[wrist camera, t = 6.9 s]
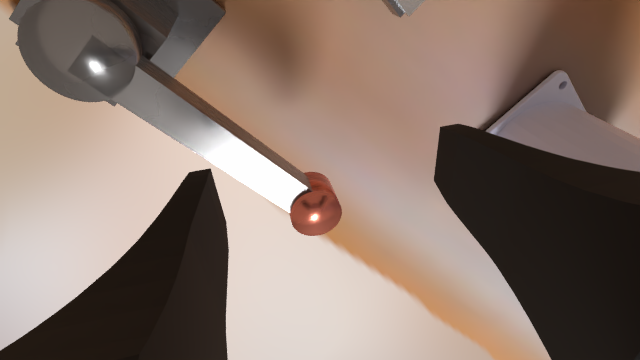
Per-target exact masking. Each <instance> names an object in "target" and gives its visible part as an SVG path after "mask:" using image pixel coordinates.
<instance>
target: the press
mask: <svg viewBox="0 0 640 360" xmlns="http://www.w3.org/2000/svg"><path fill="white" fill-rule="evenodd" d="M39 1H41V0H20V1H19V3H18V5H17V6H16V8H15V10H14V11H13V13H12V15H11V16H10V18H9V19H10V20H11V21H13V22H14V23H16V24H17V25H19V23H20V21H21V19H22V17H23V15H24V14H25V12H26V11H27V10H28V9H29V8H30V7H31V6H32V5H34V4H35V3H37V2H39ZM109 1H111V2H112V3H114V4H115V5H116V6H118V7H119V8H120V9H121V10H122V11H123V12H124V13H125V14H126V15H127V16H128V17H129V18H130V20H131V21H132V22H133V24H134V25H135V27H136V29H137V31H138V33H139V36H140V39H141V42H142V50H143V56H144V57H146V58H147V59H148V60H150V61H151V62H153V63H154V64H155V65H157V66H158V67H159V68H161V69H162V70H163V71H165V72H166V73H168V74H169V75H170V76H172V77H173V78H174V77H175V75H176V74H177V73H178V72H179V70H180V69H181V68H182V67H183V65H184V64H185V63H186V62H187V60H188V59H189V58H190V57H191V56H192V54H193V53H194V52H195V51H196V49H197V48H198V47H199V46H200V44H201V43H202V42H203V41H204V39H205V38H206V37H207V36H208V34H209V33H210V32H211V31H212V29H213V28H214V27H215V26H216V24H217V23H218V22H219V21H220V19H221V18H222V17H223V16H224V14H225V13H226V10H224V9H223V8H222V7H221V6H220V5H219V4H218V3H217V2H216V1H215V0H109ZM382 1H383V2H384V3H385V5H386V6H387V7H388V8H389V10H390V11H391V12H392V14H394V15H396V16H398V17H401V16H402V15H403V14H404V13H406V14H407V16H410V15H411V14H412V13H413V12H414V11H415V10H416V9H417V8H418V7H419V6H420V5H421V4H422V3H423V2H424V1H425V0H382ZM16 45H18V41H17V42H16ZM18 46H19V45H18ZM105 101H107V102H108V103H110V104H111V105H113V106H115V105H116V104H117V103H116V102H115V101H113V100H112V99H109V100H105Z"/></svg>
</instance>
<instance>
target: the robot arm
mask: <svg viewBox="0 0 640 360" xmlns="http://www.w3.org/2000/svg"><path fill="white" fill-rule="evenodd" d="M561 82H562V84H561ZM560 84H561V85H560ZM559 85H560V86H559ZM434 181H435V183H436V185H437V187H438V188H439V190H440V192H441V194H442V195H443V197H444V199H445V200H446V202H447V204H448V205H449V206H450V208H451V209H452V210H453V211H454V213H455V214H456V215H457V217H458V218H459V219H460V220H461V222H462V223H463V224H464V225H465V226H466V228H467V229H468V230H469V231H470V233H471V234H472V235H473V236H474V238H475V239H476V240H477V241H478V242H479V244H480V245H481V246H482V247H483V249H484V250H485V251H486V252H487V254H488V255H489V256H490V258H491V259H492V260H493V262H494V263H495V264H496V266H497V267H498V269H499V270H500V272H501V273H502V275H503V277H504V278H505V280H506V281H507V283H508V284H509V286H510V287H511V289H512V291H513V292H514V294H515V296H516V297H517V299H518V301H519V302H520V304H521V306H522V307H523V309H524V311H525V312H526V314H527V316H528V317H529V319H530V321H531V323H532V324H533V326H534V328H535V330H536V332H537V334H538V335H539V337H540V339H541V341H542V343H543V345H544V346H545V348H546V350H547V352H548V354H549V356H550V358H551V360H640V139H639V138H637V137H635V136H633V135H631V134H629V133H627V132H625V131H623V130H621V129H619V128H617V127H615V126H613V125H611V124H609V123H607V122H605V121H603V120H601V119H599V118H597V117H595V116H593V115H591V114H589V113H587V112H586V110H585V108H584V106H583V104H582V102H581V100H580V98H579V97H578V95H577V93H576V91H575V89H574V87H573V85H572V83H571V81H570V79H569V77H568V75H567V73H566V72H564V71H562V70H557V71H555V72H553V73H552V74H551V75H550V76H549V77H547V78H546V79H545V80H544V81H543V82H542V83H540V84H539V85H538V86H537V87H536V88H535V89H534V90H532V91H531V92H530V93H529V94H528V95H527V96H525V97H524V98H523V99H522V100H521V101H520V102H518V103H517V104H516V105H515V106H514V107H513V108H511V109H510V110H509V111H508V112H507V113H506V114H505V115H503V116H502V117H501V118H500V119H499V120H498V121H496V122H495V123H494V124H493V125H492V126H491V127H489V128H488V129H487V130H486V131H483V130H479V129H476V128H473V127H469V126H466V125H461V124H455V125H449V126H443V127H440V134H439V142H438V150H437V158H436V167H435V175H434ZM228 252H229V249H228V238H227V228H226V220H225V217H224V213H223V210H222V206H221V203H220V200H219V196H218V193H217V189H216V186H215V183H214V179H213V176H212V172H211V169H205V170H199V171H194V172H189V173H188V175H187V176H186V178H185V179H184V180H183V182H182V183H181V185H180V186H179V188H178V189H177V190H176V192H175V193H174V195H173V196H172V198H171V199H170V201H169V202H168V203H167V205H166V206H165V207H164V209H163V210H162V212H161V213H160V214H159V215H158V217H157V218H156V219H155V221H154V222H153V223H152V224H151V225H150V227H149V228H148V229H147V230H146V231H145V233H144V234H143V235H142V236H141V238H140V239H139V240H138V241H137V242H136V243H135V244H134V245H133V246H132V247H131V248H130V249H129V250H128V251H127V252H126V253H125V254H124V255H123V256H122V257H121V258H120V259H119V260H118V261H117V262H116V263H115V264H114V265H113V266H112V267H111V268H110V269H109V270H108V271H106V272H105V273H104V274H103V275H102V276H101V277H99V278H98V279H97V280H96V281H95V282H94V283H93V284H91V285H90V286H89V287H88V288H87V289H85V290H84V291H83V292H82V293H81V294H80V295H78V296H77V297H76V298H75V299H74V300H72V301H71V302H69V303H68V304H67V305H66V306H64V307H63V308H62V309H60V310H59V311H58V312H56V313H55V314H54V315H52V316H51V317H49V318H48V319H47V320H45V321H44V322H42V323H41V324H40V325H38V326H37V327H36V328H34V329H33V330H31V331H30V332H28V333H27V334H25V335H24V336H23V337H21V338H19V339H18V340H16V341H15V342H13V343H12V344H10V345H8V346H7V347H5V348H4V349H2V350H1V351H0V360H227V343H226V299H227V278H228V276H227V275H228Z"/></svg>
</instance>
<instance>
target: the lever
mask: <svg viewBox="0 0 640 360" xmlns="http://www.w3.org/2000/svg"><path fill="white" fill-rule="evenodd" d="M18 45H19V49H20V52H21V55H22V57H23V59H24V61H25V63H26V65H27V66H28V68H29V69H30V70H31V72H32V73H33V74H34V75H35V76H36V77H37V78H38V79H39V80H40V81H41V82H42V83H43V84H45V85H46V86H47V87H48V88H50V89H52V90H53V91H55V92H57V93H58V94H60V95H63V96H65V97H68V98H71V99H74V100H78V101H84V102H100V101H105V100H109V99H112V100H113V101H115V102H116V103H118V104H120V105H121V106H123V107H124V108H126V109H127V110H129V111H131V112H132V113H134V114H135V115H137V116H138V117H140V118H142V119H143V120H145V121H146V122H148V123H149V124H151V125H152V126H154V127H156V128H157V129H159V130H160V131H162V132H164V133H165V134H167V135H168V136H170V137H171V138H173V139H174V140H176V141H178V142H179V143H181V144H182V145H184V146H185V147H187V148H189V149H190V150H192V151H193V152H195V153H196V154H198V155H200V156H201V157H203V158H204V159H206V160H207V161H209V162H211V163H212V164H214V165H215V166H217V167H218V168H220V169H222V170H223V171H225V172H226V173H228V174H230V175H231V176H233V177H234V178H236V179H237V180H239V181H240V182H242V183H244V184H245V185H247V186H248V187H250V188H251V189H253V190H255V191H256V192H258V193H259V194H261V195H262V196H264V197H266V198H267V199H269V200H270V201H272V202H273V203H275V204H277V205H278V206H280V207H281V208H283V209H284V210H286V211H288V212H289V213H290V217H291V222H292V225H293V227H294V228H295V229H296V230H297V231H298V232H300V233H301V234H304V235H309V236H316V235H321V234H324V233H326V232H328V231H330V230H332V229H333V228H334V227H335V226H336V225H337V224H338V222H339V221H340V218H341V214H342V210H341V206H340V204H339V201H338V199H337V197H336V194H335V192H334V190H333V188H332V185H331V183H330V181H329V180H328V178H327V177H326V176H324V175H322V174H320V173H316V172H307V173H303V172H301V171H300V170H298V169H297V168H296V167H294V166H293V165H292V164H290V163H289V162H288V161H286V160H285V159H283V158H282V157H281V156H279V155H278V154H277V153H275V152H274V151H273V150H271V149H270V148H268V147H267V146H266V145H264V144H263V143H262V142H260V141H259V140H258V139H256V138H255V137H253V136H252V135H251V134H249V133H248V132H247V131H245V130H244V129H243V128H241V127H240V126H238V125H237V124H236V123H234V122H233V121H232V120H230V119H229V118H228V117H226V116H225V115H223V114H222V113H221V112H219V111H218V110H217V109H215V108H214V107H213V106H211V105H210V104H208V103H207V102H206V101H204V100H203V99H202V98H200V97H199V96H198V95H196V94H195V93H193V92H192V91H191V90H189V89H188V88H187V87H185V86H184V85H183V84H181V83H180V82H178V81H177V80H176V79H174V78H173V77H172V76H170V75H169V74H168V73H166V72H165V71H163V70H162V69H161V68H159V67H158V66H157V65H155V64H154V63H153V62H151V61H150V60H148V59H147V58H146V57H144V56H143V50H142V42H141V39H140V36H139V33H138V31H137V29H136V27H135V25H134V24H133V22H132V21H131V20H130V18H129V17H128V16H127V15H126V14H125V13H124V12H123V11H122V10H121V9H120V8H119V7H118V6H116V5H115V4H114V3H112V2H111V1H109V0H41V1H39V2H37V3H35V4H34V5H32V6H31V7H30V8H29V9H28V10H27V11H26V12H25V14H24V15H23V17H22V19H21V21H20V23H19V27H18Z"/></svg>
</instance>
